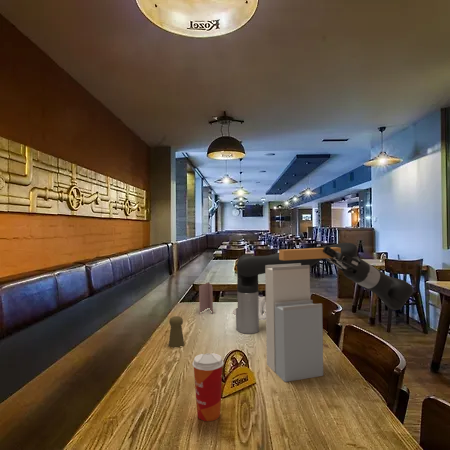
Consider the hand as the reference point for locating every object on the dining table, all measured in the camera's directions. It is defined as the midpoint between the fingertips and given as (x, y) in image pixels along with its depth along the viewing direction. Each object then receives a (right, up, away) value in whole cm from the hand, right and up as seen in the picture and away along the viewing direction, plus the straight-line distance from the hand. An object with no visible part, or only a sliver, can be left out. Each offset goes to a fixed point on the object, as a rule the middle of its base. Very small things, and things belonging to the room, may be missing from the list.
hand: (321, 248), depth 106 cm
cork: (-49, -40, +25) cm, 68 cm away
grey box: (-7, -39, -2) cm, 40 cm away
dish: (-14, -39, +70) cm, 81 cm away
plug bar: (-4, -3, -1) cm, 5 cm away
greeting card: (-39, -39, +72) cm, 91 cm away
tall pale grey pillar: (-9, -39, +4) cm, 40 cm away
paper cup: (-34, -39, -24) cm, 58 cm away
